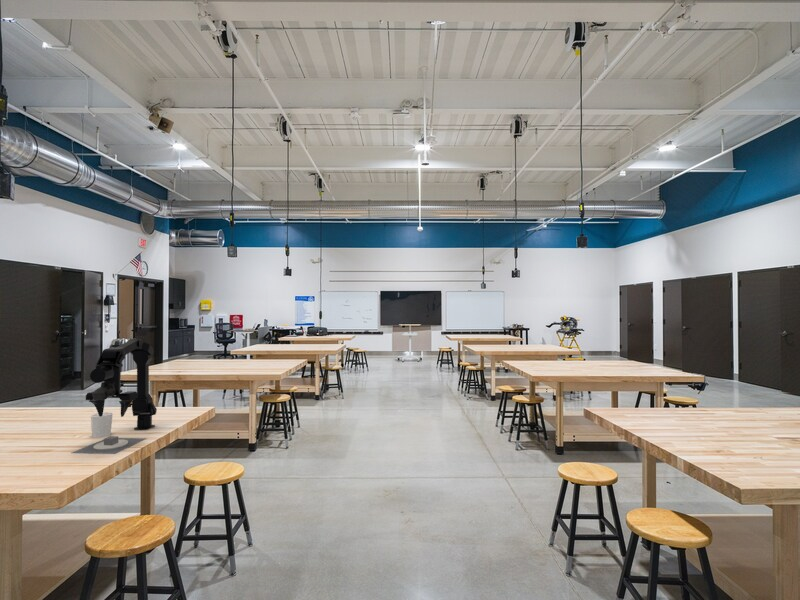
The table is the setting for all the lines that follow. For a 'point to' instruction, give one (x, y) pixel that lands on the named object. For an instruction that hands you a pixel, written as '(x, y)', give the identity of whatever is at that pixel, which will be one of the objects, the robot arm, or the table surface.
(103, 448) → the lid
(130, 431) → the table surface
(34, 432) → the table surface
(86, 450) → the charcoal mat
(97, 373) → the robot arm
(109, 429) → the white cup
